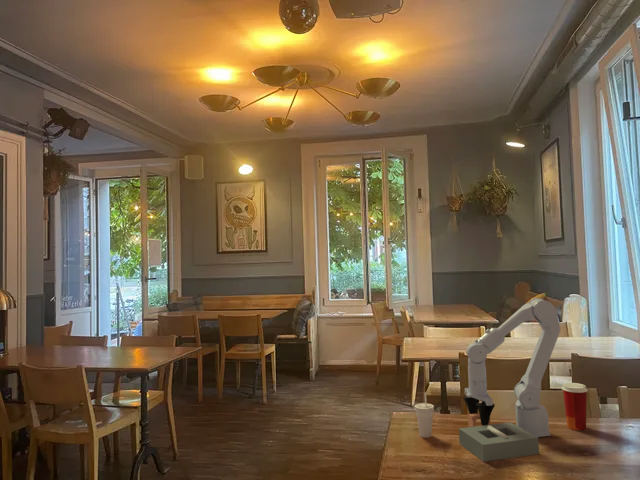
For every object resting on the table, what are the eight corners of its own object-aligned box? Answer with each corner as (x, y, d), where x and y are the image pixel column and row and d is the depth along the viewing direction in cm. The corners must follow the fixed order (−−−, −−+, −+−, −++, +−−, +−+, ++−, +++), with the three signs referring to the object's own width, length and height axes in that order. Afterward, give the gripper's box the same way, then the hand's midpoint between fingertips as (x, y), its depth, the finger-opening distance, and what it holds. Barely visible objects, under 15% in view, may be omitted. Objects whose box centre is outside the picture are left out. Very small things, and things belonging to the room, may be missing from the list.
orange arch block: (486, 429, 169) (485, 411, 169) (490, 432, 166) (490, 414, 166) (468, 432, 168) (467, 413, 168) (473, 435, 165) (472, 416, 165)
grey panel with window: (511, 437, 162) (510, 419, 162) (539, 454, 148) (538, 434, 148) (459, 444, 158) (458, 425, 158) (483, 461, 144) (482, 441, 144)
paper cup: (590, 425, 169) (588, 383, 169) (588, 433, 163) (586, 389, 163) (564, 422, 173) (562, 381, 174) (561, 429, 167) (559, 386, 167)
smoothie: (435, 439, 162) (433, 395, 162) (415, 438, 163) (413, 395, 164) (435, 432, 168) (433, 390, 169) (415, 431, 170) (413, 389, 170)
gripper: (455, 376, 173) (457, 415, 173) (477, 386, 159) (479, 430, 159) (474, 374, 175) (476, 413, 175) (497, 384, 161) (499, 427, 160)
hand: (479, 421), depth 167 cm, fingers open, 6 cm apart
